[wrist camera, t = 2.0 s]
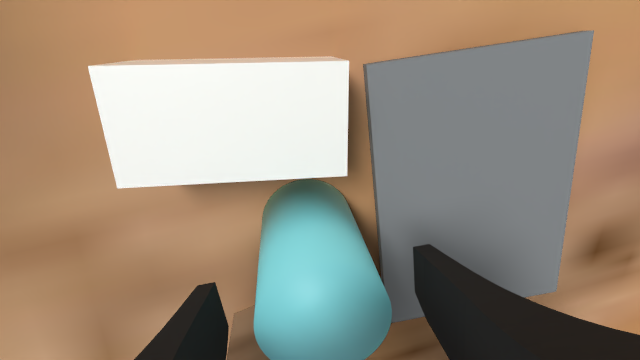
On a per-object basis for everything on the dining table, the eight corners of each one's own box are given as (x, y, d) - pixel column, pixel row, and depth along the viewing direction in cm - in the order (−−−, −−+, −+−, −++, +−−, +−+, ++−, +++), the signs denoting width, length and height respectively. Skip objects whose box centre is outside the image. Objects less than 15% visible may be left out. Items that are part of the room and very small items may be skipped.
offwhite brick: (331, 56, 15) (348, 61, 11) (331, 146, 17) (347, 176, 13) (136, 60, 14) (87, 66, 11) (154, 154, 16) (117, 188, 12)
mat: (548, 284, 21) (556, 291, 20) (384, 316, 20) (387, 323, 20) (582, 31, 16) (593, 30, 15) (363, 64, 15) (366, 64, 15)
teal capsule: (354, 249, 19) (395, 360, 12) (271, 264, 18) (268, 385, 12) (345, 172, 17) (387, 252, 10) (254, 187, 17) (239, 279, 10)
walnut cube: (339, 337, 21) (355, 411, 17) (270, 365, 21) (268, 446, 17) (309, 281, 19) (318, 347, 15) (234, 312, 19) (222, 387, 15)
